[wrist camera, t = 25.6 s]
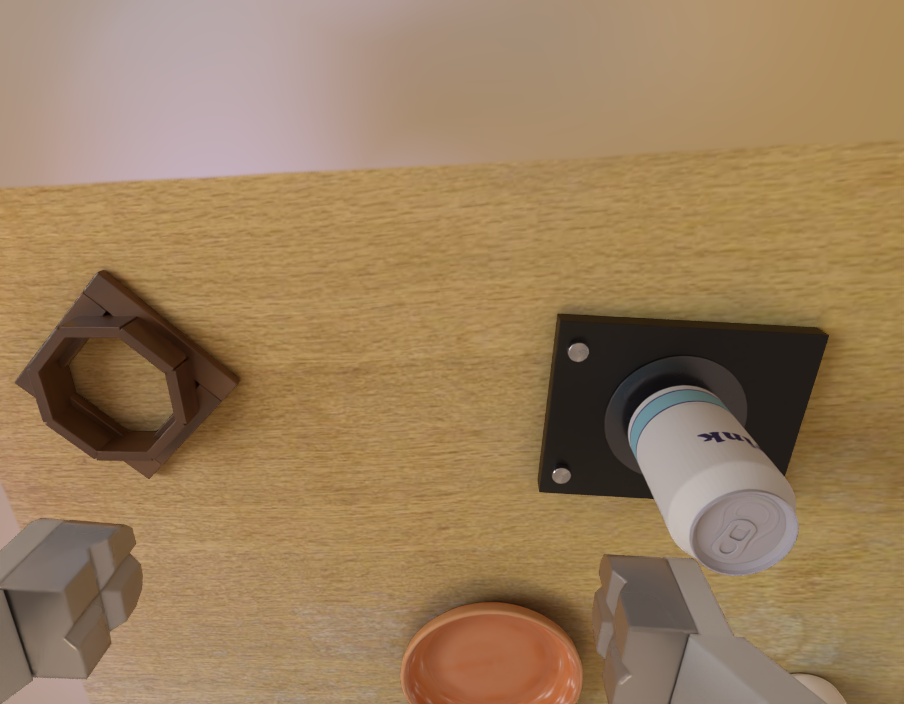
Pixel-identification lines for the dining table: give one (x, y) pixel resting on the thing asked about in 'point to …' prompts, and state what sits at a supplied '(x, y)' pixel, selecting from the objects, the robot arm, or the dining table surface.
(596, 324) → the hob
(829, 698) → the mug
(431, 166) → the dining table surface
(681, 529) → the beverage can
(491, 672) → the saucer
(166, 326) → the can holder
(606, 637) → the robot arm
